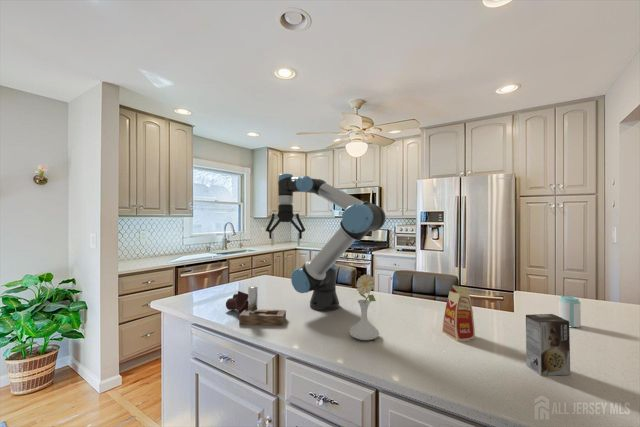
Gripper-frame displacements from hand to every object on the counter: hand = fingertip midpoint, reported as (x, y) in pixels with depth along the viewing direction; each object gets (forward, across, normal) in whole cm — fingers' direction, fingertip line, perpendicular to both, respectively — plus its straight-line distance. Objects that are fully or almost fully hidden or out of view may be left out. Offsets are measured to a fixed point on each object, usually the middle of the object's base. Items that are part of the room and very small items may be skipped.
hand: (285, 245), depth 150 cm
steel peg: (+31, +11, +21) cm, 39 cm away
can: (+32, -126, +19) cm, 131 cm away
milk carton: (+32, -74, +32) cm, 87 cm away
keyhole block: (+32, +7, +21) cm, 39 cm away
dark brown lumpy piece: (+31, +20, +10) cm, 39 cm away
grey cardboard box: (+32, -90, +57) cm, 111 cm away
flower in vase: (+32, -37, +36) cm, 61 cm away
